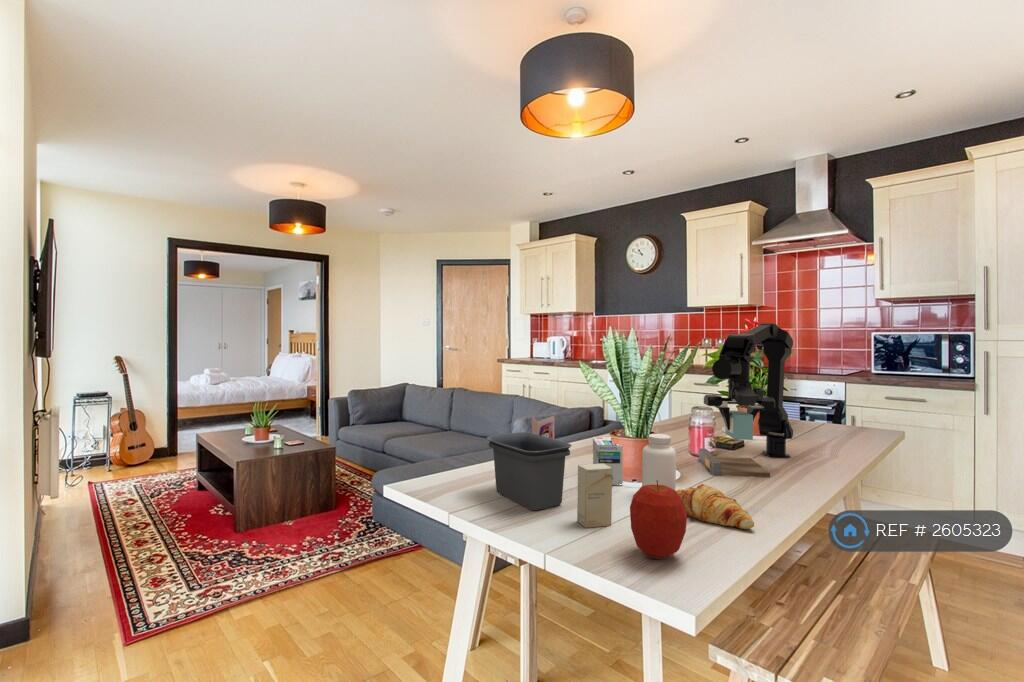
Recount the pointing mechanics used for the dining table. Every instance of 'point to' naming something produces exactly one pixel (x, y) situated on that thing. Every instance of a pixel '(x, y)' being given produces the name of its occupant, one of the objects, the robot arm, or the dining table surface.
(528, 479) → the storage bin
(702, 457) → the price rail
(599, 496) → the skincare box
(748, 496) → the dining table surface
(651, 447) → the pill bottle
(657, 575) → the dining table surface
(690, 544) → the dining table surface
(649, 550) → the apple
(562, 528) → the dining table surface
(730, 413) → the teal carton
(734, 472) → the shelf board
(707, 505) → the croissant
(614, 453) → the light bulb box
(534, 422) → the pink printed box
